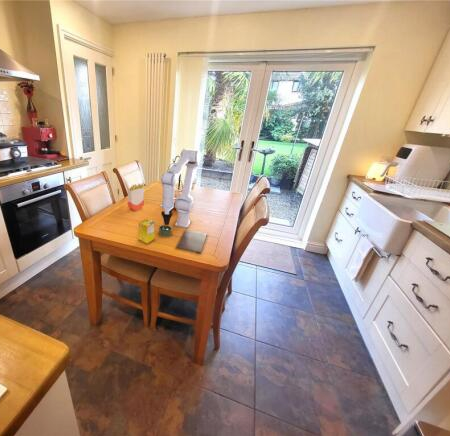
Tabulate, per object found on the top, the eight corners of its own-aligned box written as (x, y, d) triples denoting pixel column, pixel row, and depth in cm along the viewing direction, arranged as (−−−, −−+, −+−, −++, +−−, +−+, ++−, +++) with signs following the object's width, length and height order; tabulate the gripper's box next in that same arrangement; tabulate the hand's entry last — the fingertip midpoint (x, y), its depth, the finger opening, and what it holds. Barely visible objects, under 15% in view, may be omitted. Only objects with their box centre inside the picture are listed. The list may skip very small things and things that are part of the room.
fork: (163, 232, 131) (163, 217, 128) (168, 233, 131) (169, 218, 127) (161, 234, 129) (162, 219, 126) (167, 234, 129) (167, 220, 125)
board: (185, 231, 134) (186, 229, 134) (206, 235, 131) (206, 233, 131) (176, 248, 117) (176, 247, 117) (200, 253, 114) (200, 252, 114)
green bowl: (161, 230, 134) (161, 224, 132) (172, 232, 132) (173, 226, 131) (157, 236, 128) (157, 229, 126) (169, 238, 126) (169, 231, 125)
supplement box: (146, 236, 127) (146, 218, 123) (154, 240, 124) (155, 221, 119) (138, 240, 123) (138, 222, 118) (147, 244, 120) (147, 225, 115)
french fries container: (127, 209, 159) (126, 184, 152) (139, 205, 167) (139, 181, 159) (131, 211, 157) (131, 186, 149) (143, 207, 164) (144, 182, 156)
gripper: (161, 191, 123) (161, 215, 129) (158, 201, 110) (158, 227, 116) (175, 192, 122) (173, 216, 128) (173, 202, 109) (172, 228, 115)
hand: (167, 221), depth 122 cm, fingers open, 7 cm apart
